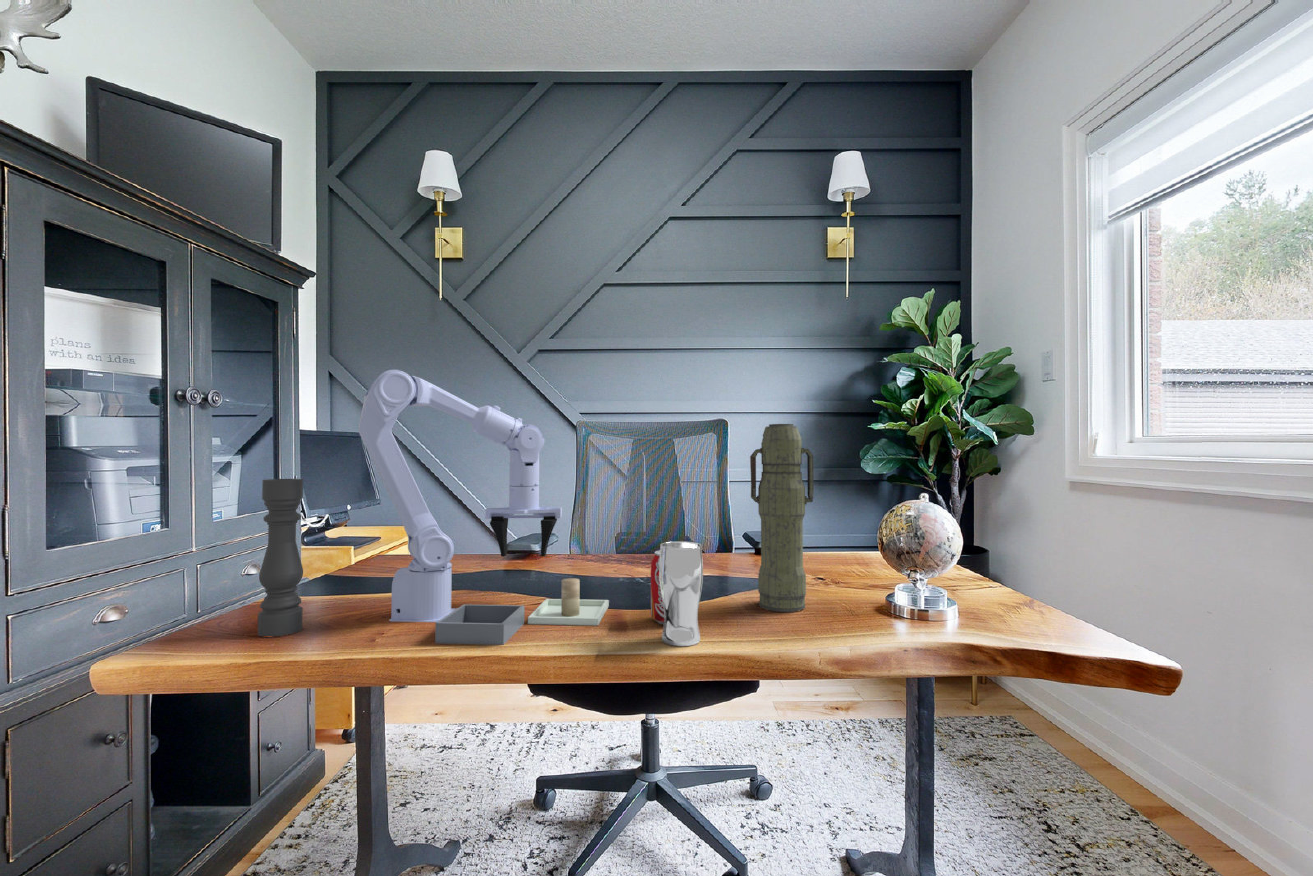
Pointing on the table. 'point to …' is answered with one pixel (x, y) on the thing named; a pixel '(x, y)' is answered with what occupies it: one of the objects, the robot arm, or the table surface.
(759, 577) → the thermos
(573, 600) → the birch pin
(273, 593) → the candle holder
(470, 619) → the charcoal bin
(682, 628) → the beer glass
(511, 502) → the robot arm
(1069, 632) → the table surface
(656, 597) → the soda can
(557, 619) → the sage tray
